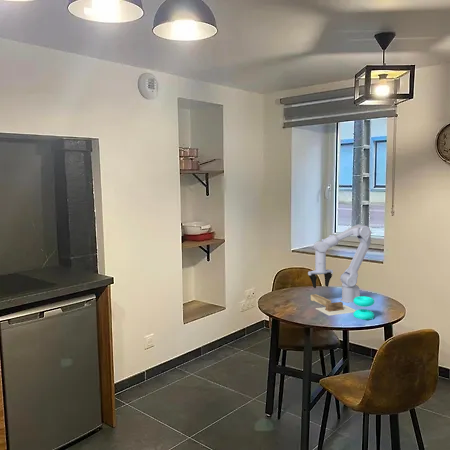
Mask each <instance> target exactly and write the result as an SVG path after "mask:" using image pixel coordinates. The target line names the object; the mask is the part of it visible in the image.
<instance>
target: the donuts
mask: <svg viewBox="0 0 450 450" xmlns="http://www.w3.org/2000/svg"><path fill="white" fill-rule="evenodd" d="M353 301H354V302H353V303H354V304H355V305H356V306H358V307H364V308H365V307H372V305H374V304H375V299H374V298H372V297H370V296H366V295H365V296H364V295H363V296H362V295H360V296H359V297H355V298H354V300H353ZM364 308H363V309H362V308H361V309H355V310H356V311H355V312H353V313H352V315H353V317H354V318H356V319H357V320H358V319H359V320H362V321H369V320H372V319H374V318H375V312H373V311H372V310H370V309H364Z"/></svg>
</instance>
